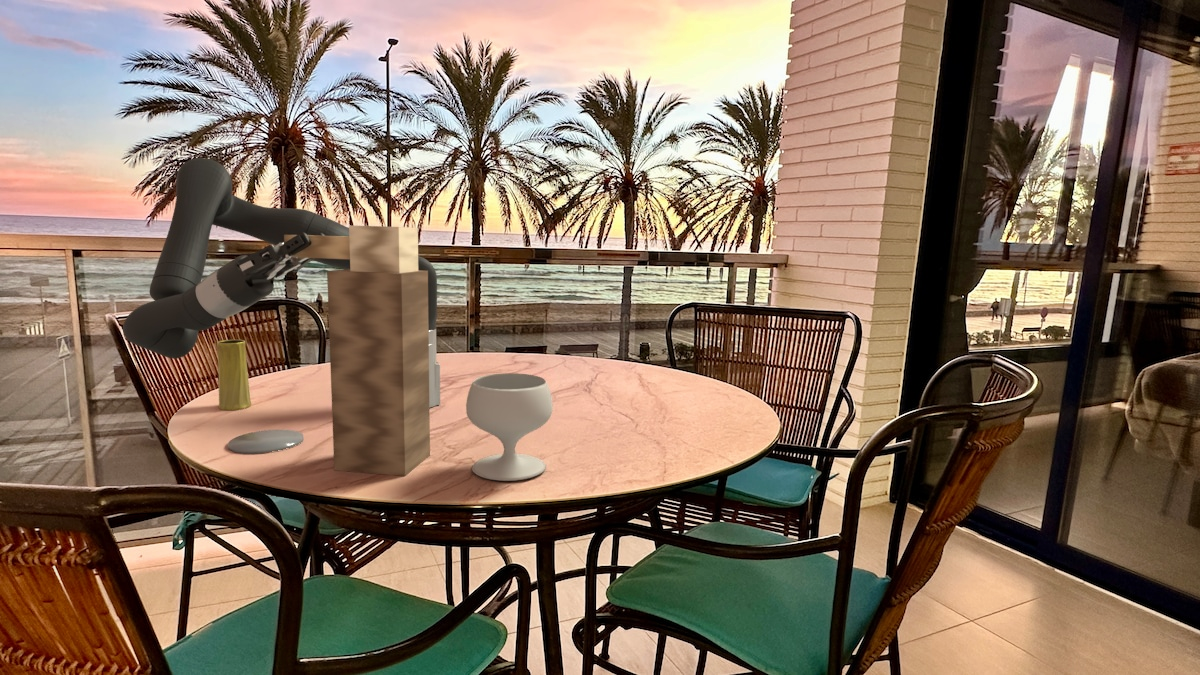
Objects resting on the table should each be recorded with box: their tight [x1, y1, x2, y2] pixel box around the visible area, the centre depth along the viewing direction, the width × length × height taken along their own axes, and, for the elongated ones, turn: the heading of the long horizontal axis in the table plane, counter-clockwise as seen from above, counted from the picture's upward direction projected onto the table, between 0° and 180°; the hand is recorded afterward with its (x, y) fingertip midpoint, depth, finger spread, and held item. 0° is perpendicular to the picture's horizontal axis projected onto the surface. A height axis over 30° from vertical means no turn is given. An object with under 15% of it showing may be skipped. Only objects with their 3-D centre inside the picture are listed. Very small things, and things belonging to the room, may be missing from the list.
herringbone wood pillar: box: [326, 269, 431, 477], centre depth 104 cm, size 12×10×32 cm
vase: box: [216, 339, 252, 411], centre depth 136 cm, size 6×6×14 cm
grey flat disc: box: [227, 428, 304, 455], centre depth 115 cm, size 12×12×1 cm
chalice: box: [465, 372, 554, 482], centre depth 104 cm, size 14×14×15 cm
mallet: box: [284, 225, 419, 273], centre depth 102 cm, size 20×7×7 cm, turn 82°
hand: (316, 238), depth 102 cm, fingers open, 4 cm apart
